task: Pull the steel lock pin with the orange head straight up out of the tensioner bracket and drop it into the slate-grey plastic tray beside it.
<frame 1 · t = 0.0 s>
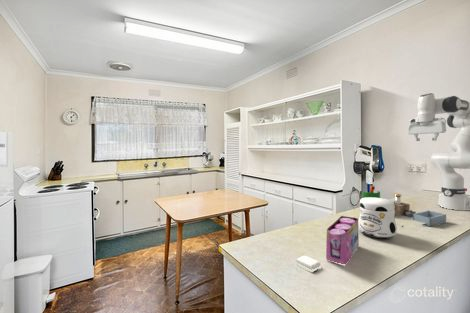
hand: (425, 140, 149), 48 cm above the counter, tool pointing down, fingers open, 8 cm apart
lock pin: (397, 212, 152), point 1 cm above the counter, touching tensioner bracket
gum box: (343, 253, 103), on the counter
tray: (429, 222, 136), on the counter
milk container: (376, 234, 122), on the counter
tensioner bracket: (402, 215, 150), on the counter
soap: (308, 267, 94), on the counter
motor: (371, 215, 153), on the counter
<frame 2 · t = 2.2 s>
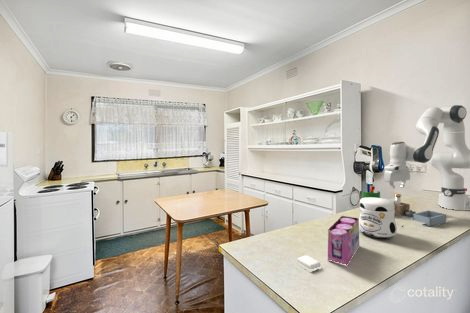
hand: (397, 187, 151), 18 cm above the counter, tool pointing down, fingers open, 8 cm apart
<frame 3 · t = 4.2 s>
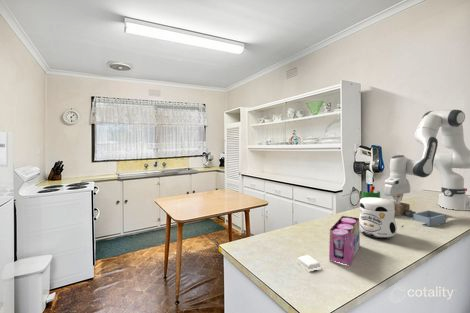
hand: (397, 201, 152), 9 cm above the counter, tool pointing down, fingers closed on lock pin, 3 cm apart
lock pin: (397, 212, 152), point 2 cm above the counter, touching gripper, tensioner bracket
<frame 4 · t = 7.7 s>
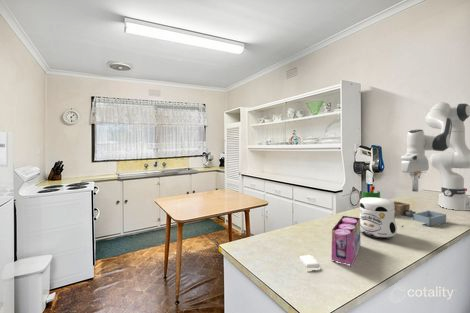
hand: (415, 178, 142), 25 cm above the counter, tool pointing down, fingers closed on lock pin, 3 cm apart
lock pin: (415, 191, 142), point 17 cm above the counter, touching gripper
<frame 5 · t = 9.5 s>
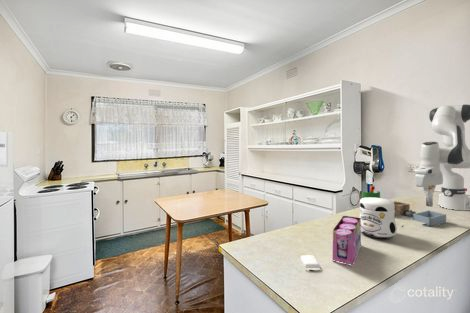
hand: (429, 193, 135), 18 cm above the counter, tool pointing down, fingers closed on lock pin, 3 cm apart
lock pin: (429, 205, 136), point 10 cm above the counter, touching gripper
when the fingers open (10 cm above the counter, at t = 11.3 s): lock pin drops 2 cm, resting on tray.
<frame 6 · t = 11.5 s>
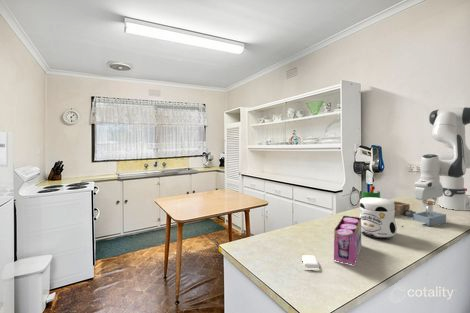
hand: (429, 205, 136), 10 cm above the counter, tool pointing down, fingers open, 5 cm apart
lock pin: (429, 221, 136), point 1 cm above the counter, touching tray
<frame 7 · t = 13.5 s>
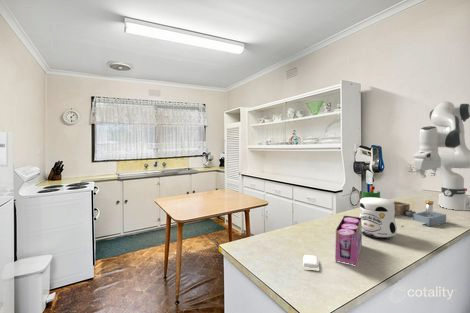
hand: (428, 176, 139), 27 cm above the counter, tool pointing down, fingers open, 8 cm apart
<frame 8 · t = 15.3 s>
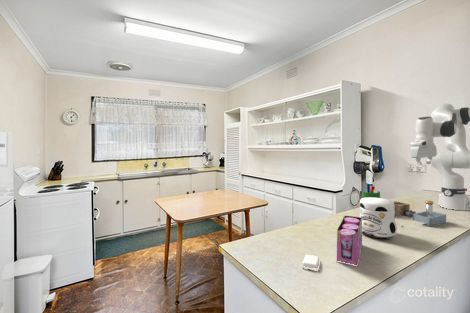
hand: (424, 164, 146), 33 cm above the counter, tool pointing down, fingers open, 8 cm apart
at the end: lock pin inside the target area on the tray (0.0 cm from its centre), point 0.6 cm above the tray's base; lock pin moved 17.5 cm from its start; the gripper is holding nothing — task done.
